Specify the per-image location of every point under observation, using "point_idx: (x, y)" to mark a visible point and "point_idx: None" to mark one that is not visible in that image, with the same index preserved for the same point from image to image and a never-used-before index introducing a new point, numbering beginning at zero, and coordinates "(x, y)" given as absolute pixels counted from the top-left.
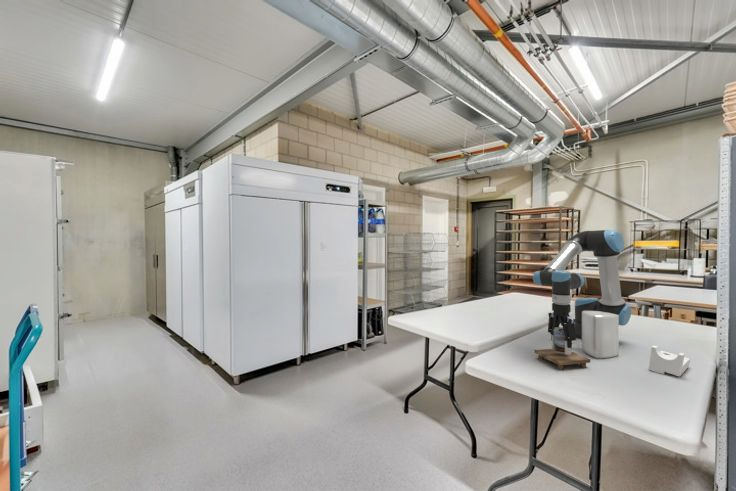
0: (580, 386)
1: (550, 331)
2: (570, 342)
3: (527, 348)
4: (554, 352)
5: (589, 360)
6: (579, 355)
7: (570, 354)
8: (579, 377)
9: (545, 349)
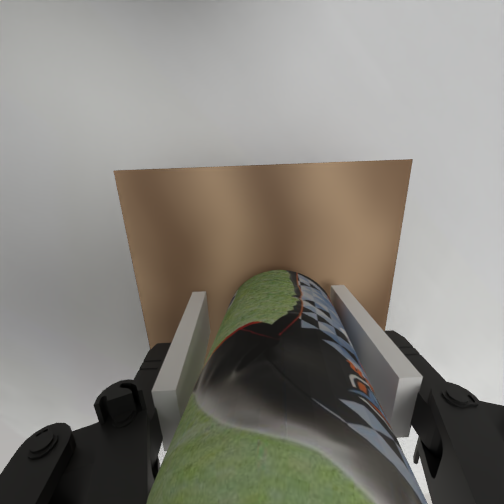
0: (499, 371)
1: (85, 490)
2: (429, 385)
3: (3, 308)
4: (222, 315)
5: (405, 168)
6: (318, 178)
7: (282, 234)
8: (440, 316)
9: (154, 333)
